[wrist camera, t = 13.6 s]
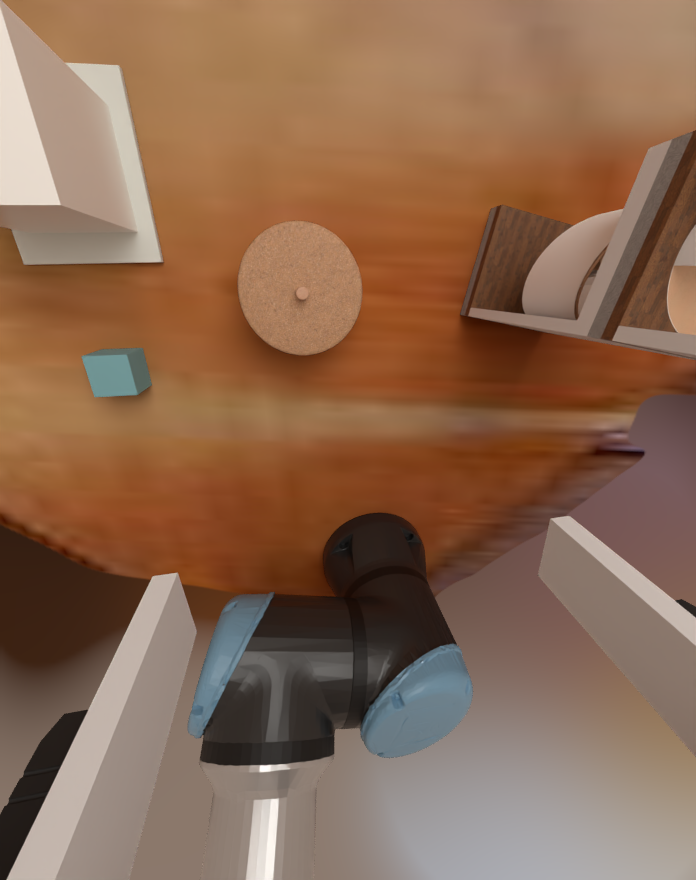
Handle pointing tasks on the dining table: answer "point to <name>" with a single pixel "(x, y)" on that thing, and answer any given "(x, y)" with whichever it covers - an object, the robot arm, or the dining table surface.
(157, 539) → the dining table surface
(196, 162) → the dining table surface
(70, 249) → the mat
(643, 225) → the display case
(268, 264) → the lidded jar
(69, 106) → the white block
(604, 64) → the dining table surface
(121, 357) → the teal block
